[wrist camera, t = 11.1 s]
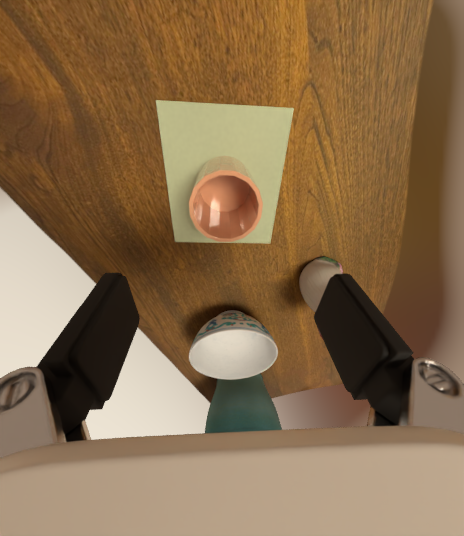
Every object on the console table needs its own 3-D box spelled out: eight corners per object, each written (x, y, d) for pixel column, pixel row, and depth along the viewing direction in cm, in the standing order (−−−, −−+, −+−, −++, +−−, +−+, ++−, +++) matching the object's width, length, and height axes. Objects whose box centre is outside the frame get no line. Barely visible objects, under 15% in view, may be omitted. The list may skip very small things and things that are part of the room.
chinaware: (242, 350, 48) (245, 385, 41) (181, 331, 42) (174, 368, 36) (284, 311, 40) (296, 346, 34) (216, 282, 35) (216, 318, 29)
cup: (195, 154, 24) (186, 169, 17) (254, 156, 24) (267, 172, 18) (198, 212, 28) (191, 241, 21) (249, 213, 28) (257, 242, 22)
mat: (156, 100, 21) (155, 100, 21) (293, 108, 22) (293, 108, 21) (175, 241, 30) (174, 241, 30) (269, 242, 31) (270, 243, 31)
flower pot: (194, 367, 51) (185, 459, 37) (267, 353, 49) (285, 446, 35) (216, 397, 62) (215, 477, 48) (277, 387, 59) (294, 468, 46)
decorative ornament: (322, 296, 38) (369, 379, 26) (288, 293, 38) (321, 377, 25) (346, 253, 33) (419, 334, 21) (307, 249, 32) (359, 330, 20)
